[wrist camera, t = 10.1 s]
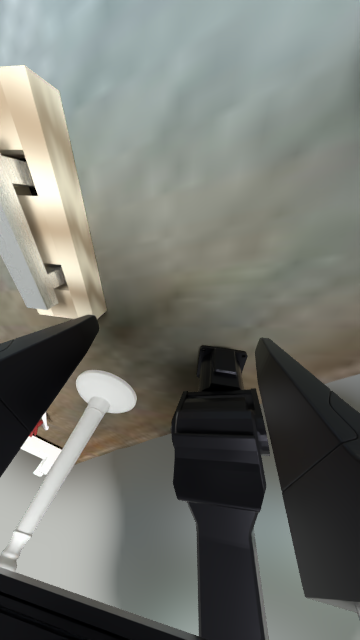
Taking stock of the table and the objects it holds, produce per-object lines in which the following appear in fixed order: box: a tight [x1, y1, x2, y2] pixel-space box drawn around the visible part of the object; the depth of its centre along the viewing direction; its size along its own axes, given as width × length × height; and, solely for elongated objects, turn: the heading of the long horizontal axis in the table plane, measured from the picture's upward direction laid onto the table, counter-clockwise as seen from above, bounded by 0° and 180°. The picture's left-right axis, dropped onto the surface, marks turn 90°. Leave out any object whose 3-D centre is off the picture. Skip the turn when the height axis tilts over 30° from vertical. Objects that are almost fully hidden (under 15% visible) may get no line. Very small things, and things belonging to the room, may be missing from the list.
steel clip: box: [0, 153, 66, 310], centre depth 17 cm, size 14×2×6 cm, turn 178°
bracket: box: [20, 436, 62, 477], centre depth 58 cm, size 13×7×8 cm, turn 47°
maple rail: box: [0, 65, 107, 319], centre depth 18 cm, size 20×8×3 cm, turn 178°
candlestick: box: [0, 370, 137, 572], centre depth 24 cm, size 13×13×30 cm
